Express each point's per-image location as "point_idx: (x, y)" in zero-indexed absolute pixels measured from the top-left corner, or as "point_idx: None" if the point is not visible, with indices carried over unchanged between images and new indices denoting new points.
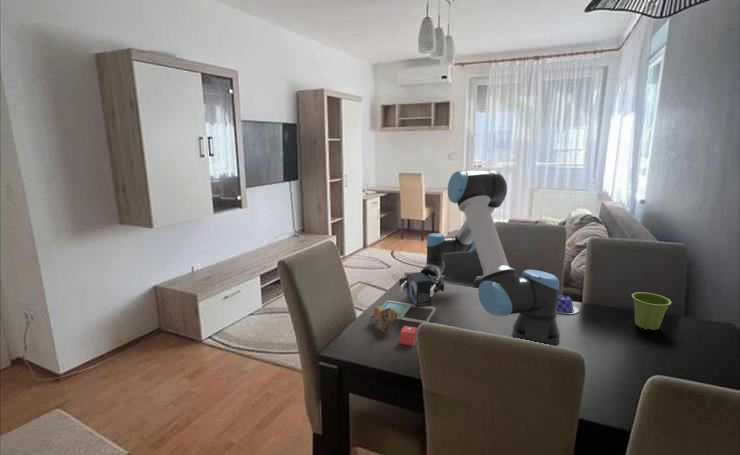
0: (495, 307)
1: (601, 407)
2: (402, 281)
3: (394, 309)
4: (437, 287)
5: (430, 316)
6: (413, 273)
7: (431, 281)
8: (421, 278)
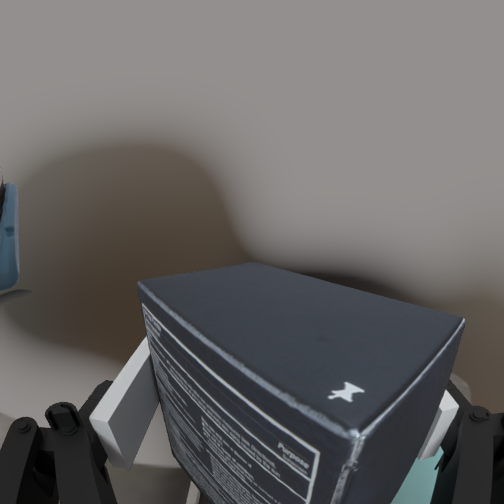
0: (18, 245)
1: (10, 297)
2: (490, 419)
3: (423, 501)
4: (87, 408)
5: (188, 493)
6: (407, 335)
7: (139, 295)
8: (233, 278)
